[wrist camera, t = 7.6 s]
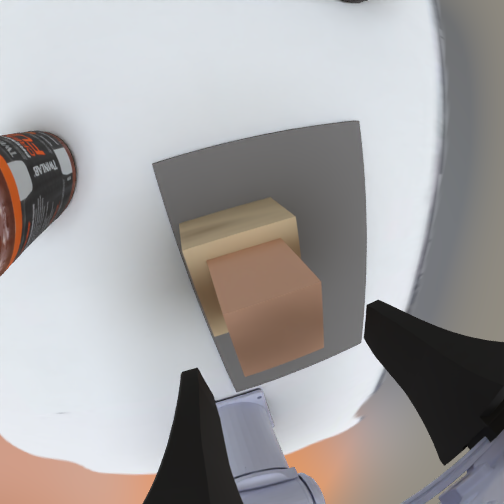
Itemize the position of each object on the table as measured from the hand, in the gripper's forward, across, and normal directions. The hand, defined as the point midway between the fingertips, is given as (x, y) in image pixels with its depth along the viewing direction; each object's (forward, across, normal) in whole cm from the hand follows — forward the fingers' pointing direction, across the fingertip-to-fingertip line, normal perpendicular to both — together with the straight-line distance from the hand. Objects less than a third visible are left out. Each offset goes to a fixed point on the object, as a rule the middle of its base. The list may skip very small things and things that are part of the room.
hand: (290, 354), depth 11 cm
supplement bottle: (+10, +11, -9) cm, 18 cm away
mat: (+10, -4, +4) cm, 11 cm away
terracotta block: (+6, 0, 0) cm, 6 cm away
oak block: (+10, 0, 0) cm, 10 cm away
